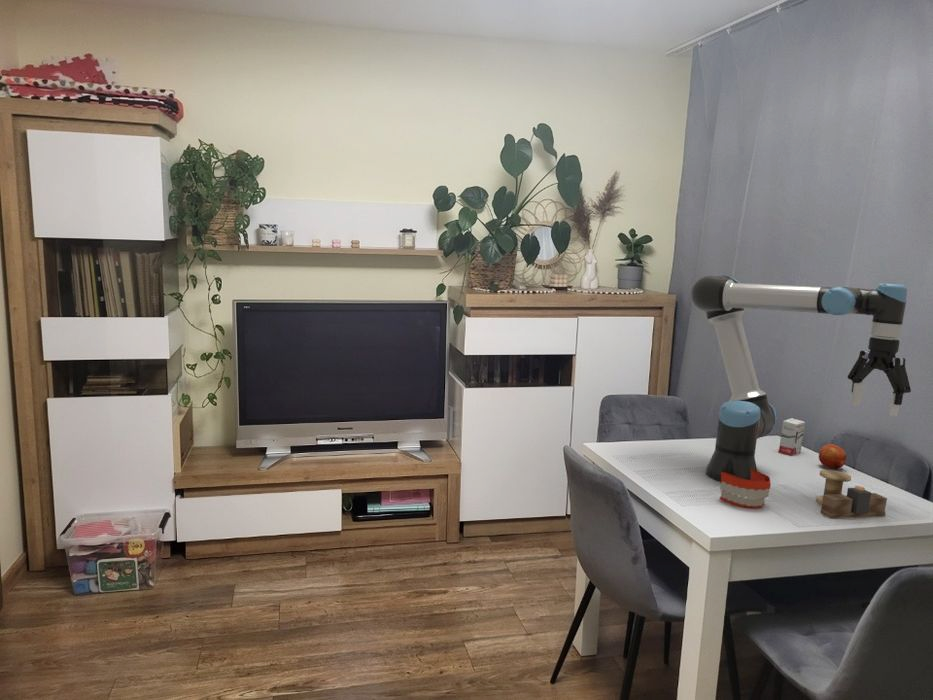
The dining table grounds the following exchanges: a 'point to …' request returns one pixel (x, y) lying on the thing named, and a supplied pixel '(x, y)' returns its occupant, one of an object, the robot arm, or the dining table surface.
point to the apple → (832, 456)
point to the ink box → (791, 436)
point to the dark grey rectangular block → (859, 499)
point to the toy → (745, 489)
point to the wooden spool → (832, 483)
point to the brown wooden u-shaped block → (842, 506)
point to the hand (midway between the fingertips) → (873, 409)
